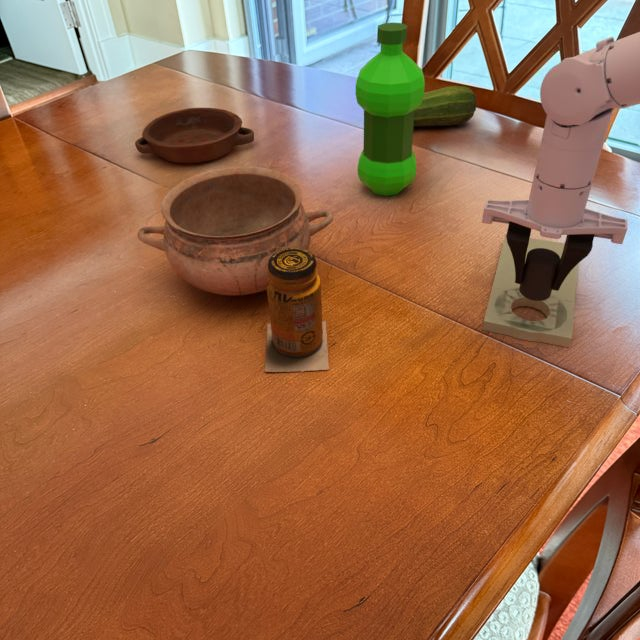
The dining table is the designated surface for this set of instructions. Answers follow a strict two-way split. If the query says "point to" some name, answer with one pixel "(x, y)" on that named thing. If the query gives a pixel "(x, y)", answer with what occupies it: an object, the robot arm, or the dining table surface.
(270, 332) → the condiment
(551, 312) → the plate
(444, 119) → the vegetable
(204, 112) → the dish
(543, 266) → the stopper
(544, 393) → the dining table surface
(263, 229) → the cooking pot
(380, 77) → the plastic bottle
